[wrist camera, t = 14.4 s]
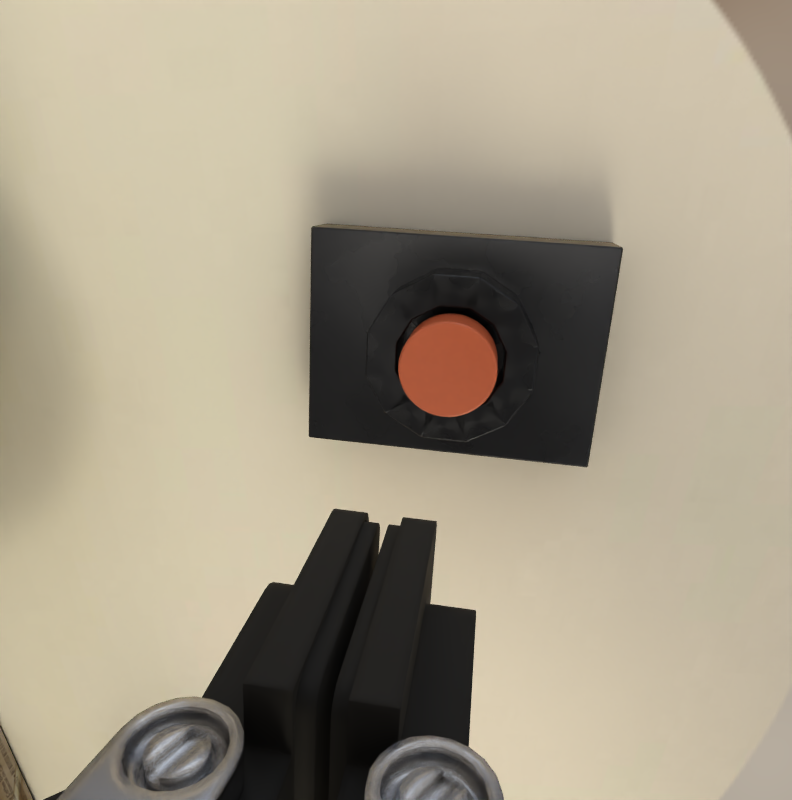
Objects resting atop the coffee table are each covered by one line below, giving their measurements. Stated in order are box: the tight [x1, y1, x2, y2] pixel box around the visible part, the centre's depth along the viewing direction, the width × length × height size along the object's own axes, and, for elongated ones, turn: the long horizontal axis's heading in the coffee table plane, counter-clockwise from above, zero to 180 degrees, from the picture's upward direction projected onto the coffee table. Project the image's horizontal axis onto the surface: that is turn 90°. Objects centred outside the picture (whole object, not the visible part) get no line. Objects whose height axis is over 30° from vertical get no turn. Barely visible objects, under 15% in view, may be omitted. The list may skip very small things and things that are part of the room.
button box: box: [309, 224, 623, 467], centre depth 27 cm, size 12×9×4 cm
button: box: [398, 313, 498, 417], centre depth 24 cm, size 4×4×2 cm
